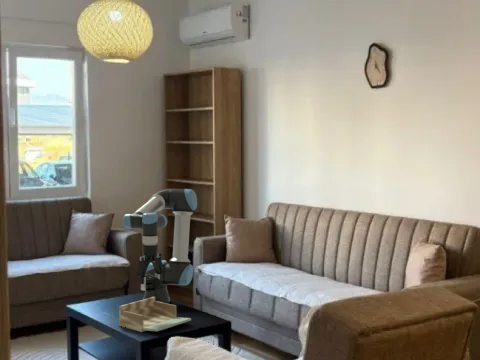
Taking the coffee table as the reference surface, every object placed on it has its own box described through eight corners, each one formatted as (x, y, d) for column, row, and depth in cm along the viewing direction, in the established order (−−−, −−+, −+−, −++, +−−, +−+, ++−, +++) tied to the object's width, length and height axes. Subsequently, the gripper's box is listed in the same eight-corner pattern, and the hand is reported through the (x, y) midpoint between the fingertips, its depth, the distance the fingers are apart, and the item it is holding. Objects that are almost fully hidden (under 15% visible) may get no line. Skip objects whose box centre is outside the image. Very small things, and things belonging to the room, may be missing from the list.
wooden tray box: (154, 315, 344) (153, 296, 343) (176, 320, 334) (176, 301, 333) (119, 325, 325) (119, 306, 324) (141, 332, 315) (141, 311, 314)
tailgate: (176, 317, 334) (191, 318, 327) (176, 319, 334) (191, 320, 327) (142, 328, 315) (157, 329, 309) (142, 330, 315) (157, 331, 309)
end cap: (160, 290, 326) (160, 276, 326) (147, 292, 323) (147, 278, 322) (153, 286, 335) (153, 273, 334) (140, 288, 331) (140, 274, 331)
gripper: (160, 240, 338) (160, 283, 340) (128, 246, 321) (129, 291, 322) (170, 242, 334) (170, 285, 335) (139, 247, 316) (139, 293, 318)
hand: (150, 288), depth 329 cm, fingers closed on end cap, 9 cm apart
